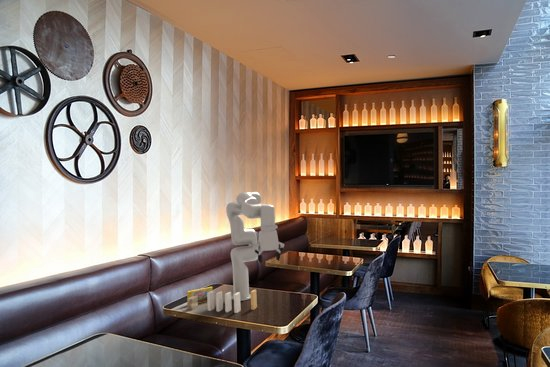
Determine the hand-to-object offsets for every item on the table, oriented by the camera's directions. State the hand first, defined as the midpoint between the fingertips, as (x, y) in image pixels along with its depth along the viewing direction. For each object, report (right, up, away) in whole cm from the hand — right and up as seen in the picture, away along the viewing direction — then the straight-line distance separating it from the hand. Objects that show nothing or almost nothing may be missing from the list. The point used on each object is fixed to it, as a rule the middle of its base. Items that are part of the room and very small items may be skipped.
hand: (269, 261), depth 206 cm
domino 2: (-28, -31, +17) cm, 45 cm away
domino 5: (-9, -30, +18) cm, 36 cm away
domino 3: (-23, -31, +15) cm, 41 cm away
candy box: (-42, -32, +33) cm, 62 cm away
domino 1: (-33, -31, +19) cm, 49 cm away
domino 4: (-18, -31, +13) cm, 38 cm away
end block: (-45, -32, +22) cm, 59 cm away
